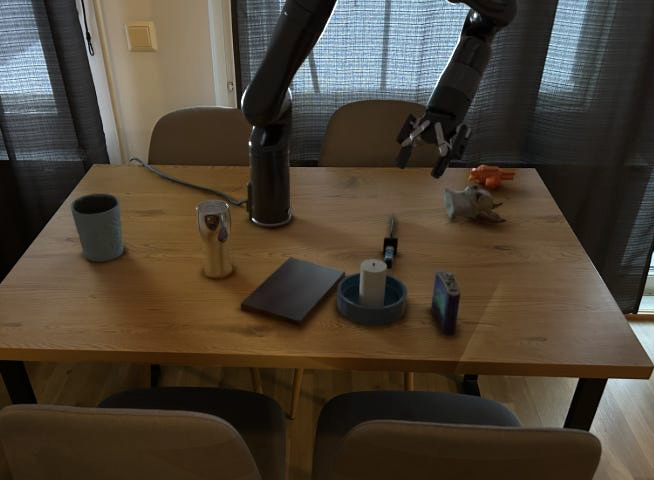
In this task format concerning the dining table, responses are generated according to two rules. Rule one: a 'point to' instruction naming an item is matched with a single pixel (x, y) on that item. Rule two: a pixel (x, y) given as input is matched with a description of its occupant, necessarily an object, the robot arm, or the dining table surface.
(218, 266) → the beer glass
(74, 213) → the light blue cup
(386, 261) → the knife
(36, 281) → the dining table surface
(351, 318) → the bowl
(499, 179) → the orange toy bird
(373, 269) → the candle
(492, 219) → the ceramic sculpture
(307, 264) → the cutting board
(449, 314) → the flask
